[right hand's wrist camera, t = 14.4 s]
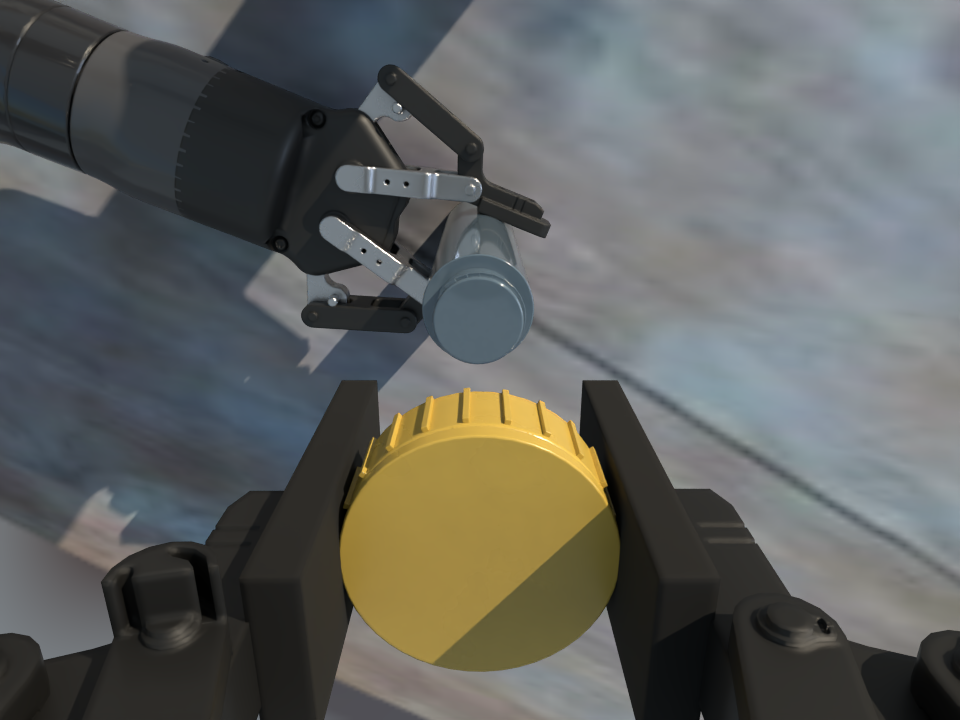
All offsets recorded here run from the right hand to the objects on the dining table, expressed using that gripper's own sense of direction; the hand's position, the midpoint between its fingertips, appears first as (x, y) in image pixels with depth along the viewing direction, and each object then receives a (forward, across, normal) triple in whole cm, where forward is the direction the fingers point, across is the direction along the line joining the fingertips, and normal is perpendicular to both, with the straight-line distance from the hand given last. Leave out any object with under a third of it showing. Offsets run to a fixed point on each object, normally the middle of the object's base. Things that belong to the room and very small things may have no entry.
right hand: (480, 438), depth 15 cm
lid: (-4, 0, 0) cm, 4 cm away
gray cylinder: (+27, 0, 0) cm, 27 cm away
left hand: (+21, -2, +1) cm, 21 cm away
